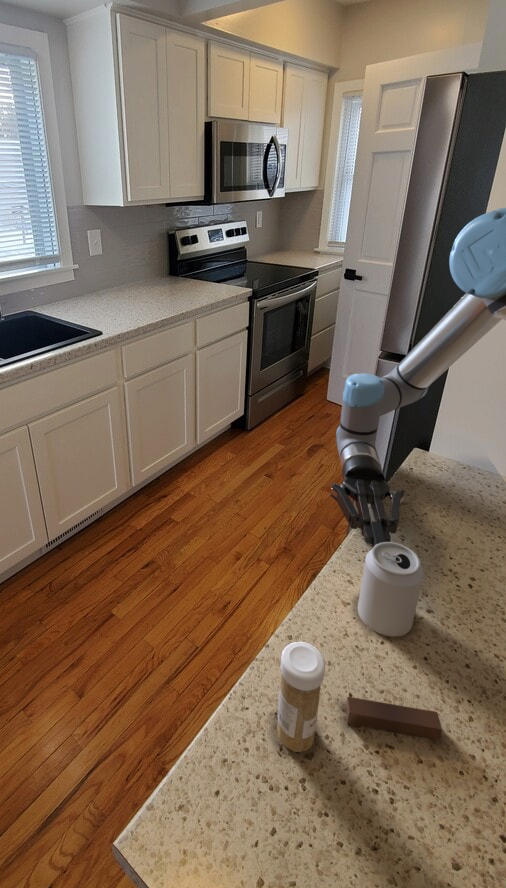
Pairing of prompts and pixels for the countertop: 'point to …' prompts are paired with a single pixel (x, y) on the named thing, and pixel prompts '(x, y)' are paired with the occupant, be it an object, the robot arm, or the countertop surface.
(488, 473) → the countertop surface
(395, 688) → the countertop surface
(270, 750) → the countertop surface
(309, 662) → the sprinkles bottle
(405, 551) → the can
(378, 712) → the bar
